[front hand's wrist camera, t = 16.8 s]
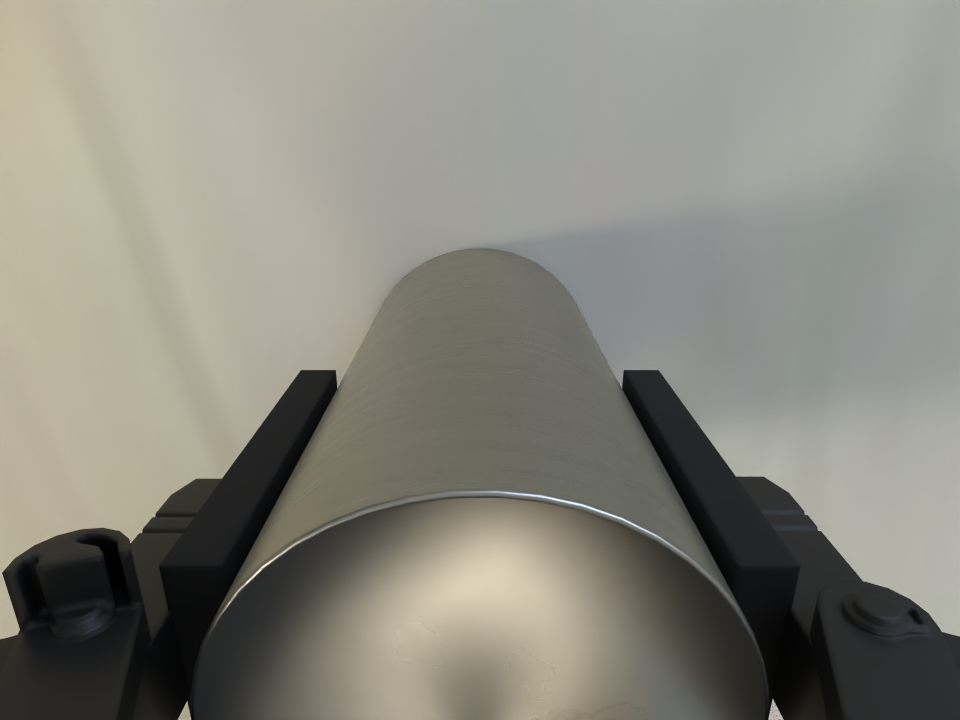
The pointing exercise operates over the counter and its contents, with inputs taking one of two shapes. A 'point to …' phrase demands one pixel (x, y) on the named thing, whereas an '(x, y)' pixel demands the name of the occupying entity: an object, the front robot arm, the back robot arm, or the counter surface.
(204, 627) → the front robot arm
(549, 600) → the tin
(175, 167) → the counter surface
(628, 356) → the counter surface
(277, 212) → the counter surface
